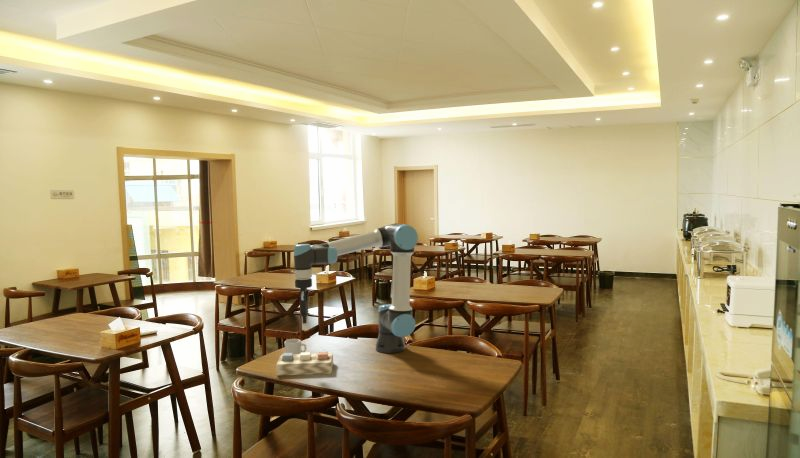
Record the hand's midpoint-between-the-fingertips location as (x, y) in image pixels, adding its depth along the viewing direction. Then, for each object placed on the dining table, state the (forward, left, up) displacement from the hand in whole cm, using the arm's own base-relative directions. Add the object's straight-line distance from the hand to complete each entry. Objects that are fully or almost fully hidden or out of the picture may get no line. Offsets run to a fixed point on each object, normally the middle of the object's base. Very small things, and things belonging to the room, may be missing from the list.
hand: (305, 329), depth 237 cm
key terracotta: (-8, 0, -16) cm, 18 cm away
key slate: (+8, 0, -16) cm, 18 cm away
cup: (+7, -19, -19) cm, 27 cm away
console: (0, 0, -18) cm, 18 cm away
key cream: (0, 0, -16) cm, 16 cm away
